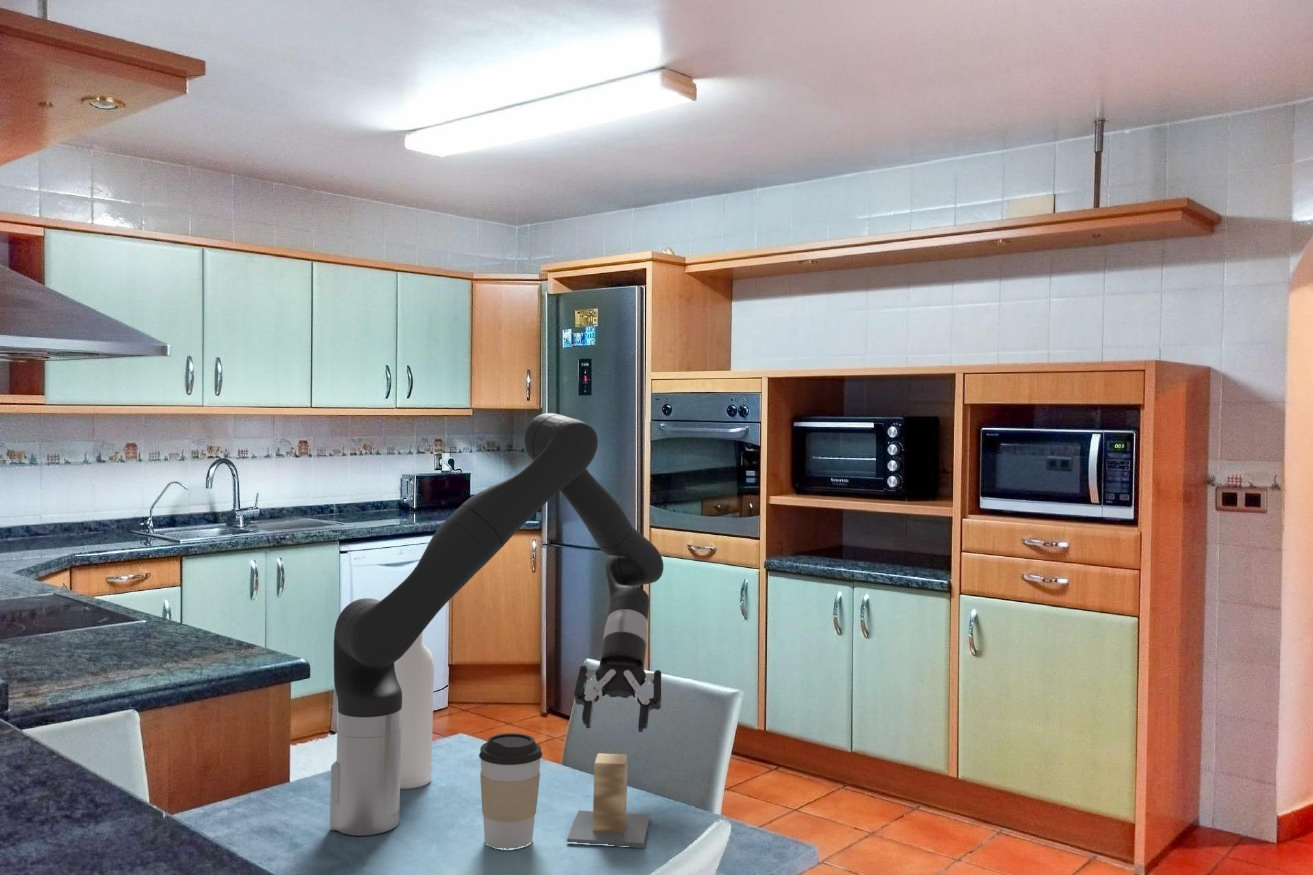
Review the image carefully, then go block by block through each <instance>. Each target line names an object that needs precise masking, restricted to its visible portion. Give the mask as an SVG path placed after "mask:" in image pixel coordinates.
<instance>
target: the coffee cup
mask: <svg viewBox="0 0 1313 875" xmlns="http://www.w3.org/2000/svg"><path fill="white" fill-rule="evenodd" d="M478 757H479V758H480V771H479V772H480V773H479V775H480V777H479V779H480V792H481V795H480V796H481V811H482V816H483V834H484V844H485V843H486V844H488V845H489V846H492V847H495V848H503V849H504V848H506V849H509V848H518V847H521V846H526V845H527V844H529V843H530V842H532V843H533V840H534V839H533V836H534V827H535V826H534V825H535V817H536V814H537V807H538V799H539V798H538V797H539V789H540V788H539V787H540V779H541V770H540V767H541V758H542V757H543V751H542V748H541V746H540V744H538V743H537V742H536V740H535V738H533V736H530V735H527V734H524V733H514V732H513V733H499V734H495V735H492V736H490V737H489V738H488V739H487V741H486V742H485V743H483V744H482V745H481V746H480V752H479V754H478ZM486 844H485V845H486Z"/></svg>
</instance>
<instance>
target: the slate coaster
mask: <svg viewBox="0 0 1313 875" xmlns="http://www.w3.org/2000/svg"><path fill="white" fill-rule="evenodd" d="M649 824H650V814H649V813H632V812H631V813H630V812H626V823H625V827H624V831H623V832H604V831H593V810H580V809H579V810H577V813H576V816H575V819H574V820H573V824H572V826H571V828H570V830H569V833H568V836H567V838H566V840H567V841H566V843H567V842H577V843H589V844H608V845H614V846H629V847H636V848H635V849H644V847H645V842H646V838H647V837H646V836H647V834H648V828H649Z"/></svg>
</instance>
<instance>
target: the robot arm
mask: <svg viewBox="0 0 1313 875" xmlns="http://www.w3.org/2000/svg"><path fill="white" fill-rule="evenodd" d="M523 440H524V447H525V451H526V453H527V455H528V456H529V458H530V459H531V462H530V463H529V464H528V465H527V466H526V467H525V468H523V469H522V470H521V471H519V472H518V473H516V474H514V475H513V476H511V477H510V478H507V479H505V480H502V481H500V482H498V483H495V484H494V485H491V486H490V487H487V488H485V489H483V490H481V491H480V492H478V493H476V494H474V495H472V496H471V497H469V498H468V499H467V500H465V501H464V502H463V503H462V504H461V505H460V506H459V507H458V508H457V509H455V511H454V512H452V514H451V515H449V517H448V518H447V519H446V520H444V521H443V523H441V525H440V526H439V527H438V528H437V530H436V531H435V533H434V534H433V535H432V537H431V538H430V541H429V542H428V544H427V546H426V548H425V549H424V552H423V554H422V555H421V557H420V559H419V561H418V563H417V564H416V566H415V567H414V569H413V570H412V571H411V573H410V574H409V575H408V576H407V577H406V578H405V579H404V580H403V581H402V582H401V583H400V584H399V585H397V586H396V587H395V588H394V589H393V590H392V591H391V592H390V593H389V594H388V595H386V596H385V597H384V598H382V599H381V600H378V599H376V598H366V597H365V598H358V599H357V600H354V601H352V602H350V603H348V604H347V605H346V606H345V607H344V608H343V610H342V611H341V612H340V613H339V616H338V617H337V620H336V622H335V625H334V626H335V627H334V633H333V682H334V683H333V684H334V689H335V694H336V698H337V722H336V723H337V724H336V725H337V726H336V728H337V731H336V734H337V735H336V760H335V761H334V762H333V763H332V764H331V766H330V790H329V791H330V794H329V795H330V798H329V804H330V805H329V830H331V831H337V832H339V833H341V834H343V835H348V836H349V835H350V836H373V835H378V834H382V833H383V834H384V833H386V832H389V831H391V830H393V829H394V828H396V827H397V826H398V825H399V823H400V811H401V810H400V809H401V806H400V802H401V800H400V797H401V789H400V768H401V729H402V728H401V727H402V690H401V687H400V685H399V683H398V681H397V677H396V673H395V667H394V662H395V661H397V660H398V659H400V658H401V657H402V656H403V655H404V654H405V653H406V651H407V650H408V649H409V648H410V647H411V645H412V644H413V643H414V642H415V640H416V639H417V638H418V637H419V635H420V634H421V633H422V632H424V630H425V629H426V628H427V626H428V625H429V624H430V623H431V622H432V620H433V619H434V618H435V617H436V616H437V614H438V613H439V612H440V611H441V610H442V608H443V607H445V605H446V604H447V603H448V602H449V601H450V600H451V599H452V598H453V597H454V596H455V595H456V594H457V593H458V592H460V590H462V588H463V587H465V585H466V584H467V583H469V581H470V580H471V579H472V578H473V577H474V576H475V575H476V574H477V573H478V572H479V571H480V570H481V569H483V567H484V566H485V565H487V563H489V562H490V561H491V559H493V557H494V556H495V555H497V553H498V552H499V551H500V550H502V548H503V547H504V546H505V545H506V543H507V542H508V541H509V540H510V539H511V538H512V537H513V536H514V535H515V534H516V533H517V532H518V531H519V530H520V529H521V528H522V527H523V526H524V525H525V524H526V523H527V522H528V521H529V520H531V518H533V516H534V515H535V514H536V513H537V512H538V511H539V510H540V509H541V508H542V507H543V506H545V504H547V502H549V501H550V500H551V499H552V498H554V496H556V495H557V494H558V493H560V492H561V493H562V495H563V496H564V497H565V499H567V502H569V503H570V505H571V507H572V508H573V509H574V511H575V512H576V513H577V515H578V517H579V518H580V519H581V520H582V522H583V524H584V526H585V527H586V528H587V530H588V532H589V533H590V534H591V537H592V538H593V539H594V541H595V543H596V544H597V546H598V548H599V549H600V550H601V551H602V553H604V554H605V555H607V556H608V557H607V559H606V561H605V564H604V569H605V576H606V580H607V585H608V593H609V606H608V614H607V618H606V619H607V621H606V622H605V627H604V631H603V637H602V638H603V640H602V645H601V646H602V647H601V653H600V659H599V660H600V661H599V665H598V667H597V668H596V669H589V668H588V667H587V666H586V665H582V666H580V667H579V672H578V676H577V680H576V684H575V689H574V692H573V693H574V695H573V696H574V702H575V704H576V705H582V706H583V709H582V715H581V719H582V724H583V725H585V729H591V727H592V721H593V713H594V706H595V705H596V704H598V703H599V702H601V701H602V700H604V698H605V697H606V696H609V698H623V699H629V697H632V698H633V700H634V701H635V703H636V704H638V706H639V714H638V715H639V716H638V725H637V726H638V727H637V728H638V730H637V731H638V732H639V733H643V732H644V729H647V728H648V727H649V726H648V725H649V715H650V711H652V710H661V708H662V687H663V686H662V683H663V682H662V680H663V679H662V671H661V670H658V669H656V670H655V671H654V673H653V672H648V673H647V672H646V671H645V664H646V662H645V661H646V653H647V646H648V630H649V629H648V620H649V610H650V596H649V594H648V593H647V592H646V590H645V589H643V588H640V587H639V586H643V585H649V584H653V583H655V582H657V581H659V579H660V578H661V577H662V576H663V574H664V573H663V572H664V568H665V567H664V560H663V557H662V554H660V551H659V550H658V549H657V547H656V546H655V545H654V544H653V543H652V542H651V541H650V540H649V539H647V538H646V536H644V535H643V534H642V533H640V532H639V531H638V530H637V529H636V528H634V526H633V525H632V523H631V522H630V520H629V518H628V517H627V515H626V513H625V511H624V509H623V508H622V506H621V505H620V503H619V502H618V501H617V500H616V498H615V497H613V495H612V494H610V492H609V491H608V490H607V489H606V488H605V487H604V486H603V485H602V484H601V483H600V482H599V481H598V480H597V479H596V478H595V477H594V476H593V475H592V474H591V473H590V471H589V470H588V469H587V468H588V467H589V465H590V464H591V463H592V461H593V460H594V458H595V456H596V454H597V449H598V446H599V445H598V444H599V443H598V442H599V441H598V440H599V439H598V434H597V432H596V430H595V429H594V427H592V426H591V425H589V424H588V423H586V422H584V421H582V420H580V419H577V418H573V417H570V416H569V417H568V416H565V415H563V414H558V413H553V412H548V413H547V412H545V413H541V414H539V415H537V416H535V417H534V418H532V420H530V422H529V424H528V425H527V426H526V430H525V432H524V438H523ZM422 634H423V633H422ZM593 679H595V680H596V683H595V684H594V685H593V688H592V689H591V690H590V691H589V692H587V694H585V692H586V688H587V684H590V683H591V681H592V680H593ZM646 682H648V684H649V686H650V687H652V688H653V696H652V697H651V698H648V696H647V695H646V693H645V692H644V689H643V688H642V686H643V685H644V684H645V683H646Z"/></svg>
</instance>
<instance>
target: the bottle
mask: <svg viewBox="0 0 1313 875" xmlns="http://www.w3.org/2000/svg"><path fill="white" fill-rule="evenodd" d="M423 632H424V631H423ZM423 632H422V633H421V634H420V635H419V637H418V638H417V639H416V640H415V642H414V643H413V644H412V645H411V647H410V648H409V649H408V650H407V651H406V653H405V654H404V655H403V656H402V657H401V658H400V659H398V660H397V661H395V662H394V667H395V673H396V677H397V681H398V683H399V685H400V687H401V690H402V727H401V728H402V729H401V768H400V790H405V789H406V790H409V789H417V788H421V787H424V786H426V785H428V784H429V783H430V782H431V781H432V773H433V759H432V756H433V724H434V723H433V722H434V720H433V719H434V718H433V717H434V687H435V686H434V682H435V681H434V680H435V674H434V673H435V661H434V658H433V654H432V652H431V650H430V649H429V648H428V647H426V646H425V644H424V643H423Z"/></svg>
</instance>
